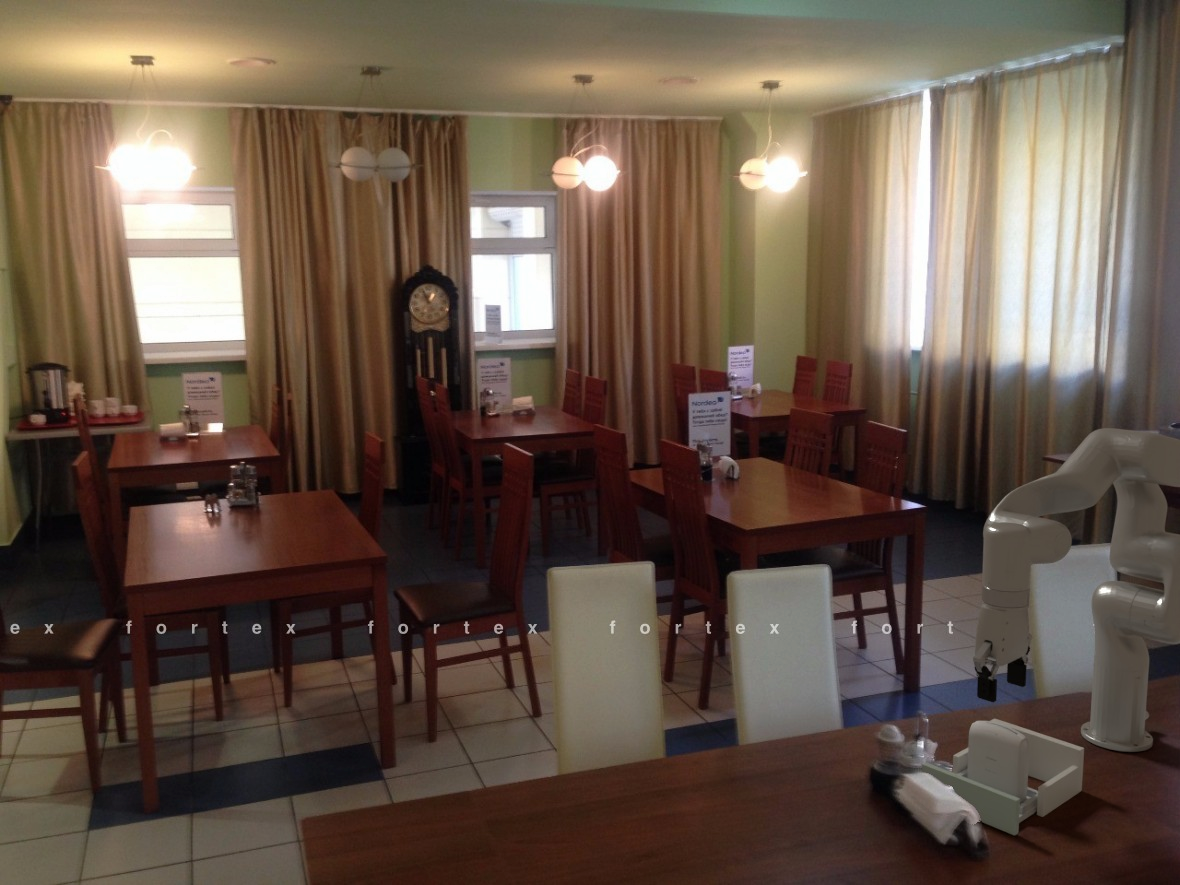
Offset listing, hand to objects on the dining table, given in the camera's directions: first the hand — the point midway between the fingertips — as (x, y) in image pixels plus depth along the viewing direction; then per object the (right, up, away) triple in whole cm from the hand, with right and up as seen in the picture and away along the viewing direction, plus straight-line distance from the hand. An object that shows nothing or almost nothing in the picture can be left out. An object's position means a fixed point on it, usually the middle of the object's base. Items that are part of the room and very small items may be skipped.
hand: (1001, 691), depth 176 cm
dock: (+5, -19, +7) cm, 21 cm away
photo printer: (0, -18, +3) cm, 19 cm away
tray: (-2, -19, +1) cm, 20 cm away
